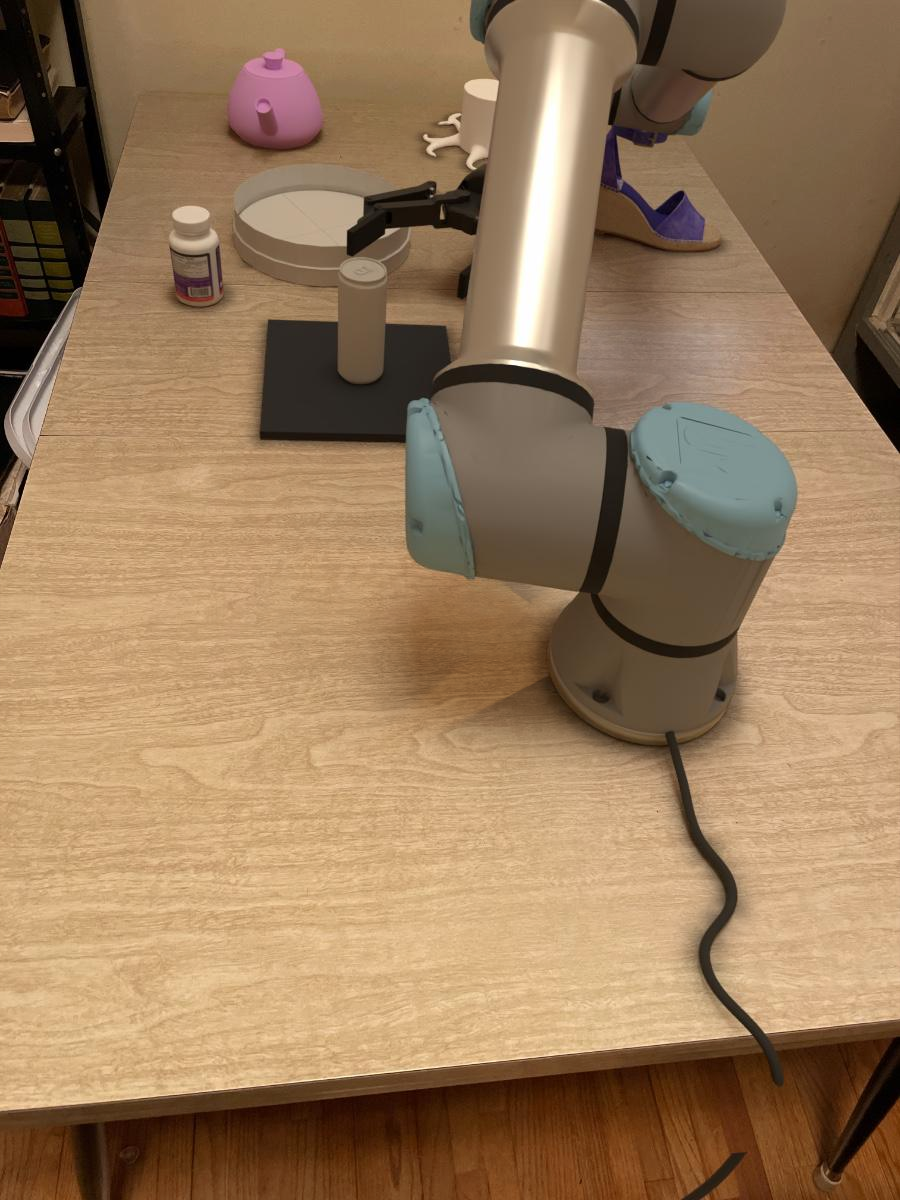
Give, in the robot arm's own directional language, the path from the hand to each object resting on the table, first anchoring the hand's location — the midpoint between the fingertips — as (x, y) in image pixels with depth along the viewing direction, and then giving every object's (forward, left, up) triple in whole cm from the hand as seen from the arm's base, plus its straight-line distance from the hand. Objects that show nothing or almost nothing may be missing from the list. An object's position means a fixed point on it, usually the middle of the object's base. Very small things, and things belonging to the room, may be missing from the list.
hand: (404, 265), depth 100 cm
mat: (-6, +4, -10) cm, 13 cm away
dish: (+24, +8, -10) cm, 27 cm away
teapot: (+55, +15, -10) cm, 58 cm away
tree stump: (+56, -16, -10) cm, 59 cm away
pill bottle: (+10, +22, -10) cm, 27 cm away
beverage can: (-6, +4, -9) cm, 12 cm away
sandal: (+30, -36, -10) cm, 47 cm away
